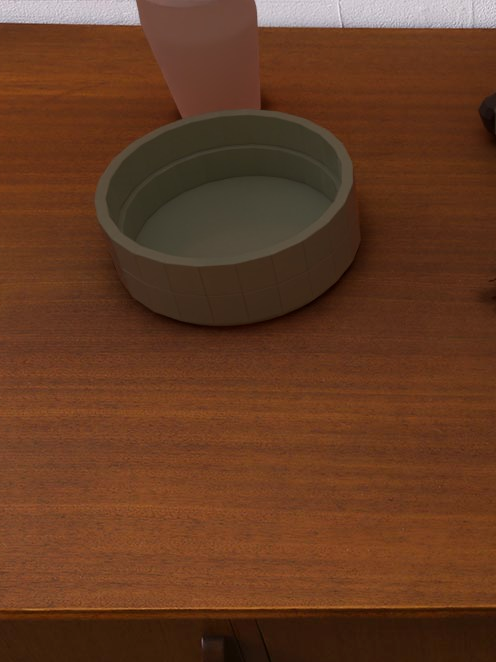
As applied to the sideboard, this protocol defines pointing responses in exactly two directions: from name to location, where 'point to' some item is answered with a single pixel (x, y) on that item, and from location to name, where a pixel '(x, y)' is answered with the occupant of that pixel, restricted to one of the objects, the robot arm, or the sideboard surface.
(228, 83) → the cup
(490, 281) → the insect
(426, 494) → the sideboard surface
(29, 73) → the sideboard surface
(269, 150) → the bowl
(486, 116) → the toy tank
